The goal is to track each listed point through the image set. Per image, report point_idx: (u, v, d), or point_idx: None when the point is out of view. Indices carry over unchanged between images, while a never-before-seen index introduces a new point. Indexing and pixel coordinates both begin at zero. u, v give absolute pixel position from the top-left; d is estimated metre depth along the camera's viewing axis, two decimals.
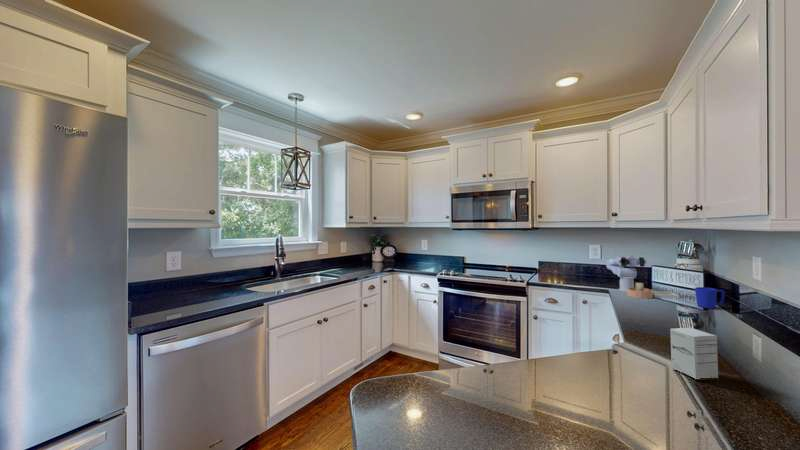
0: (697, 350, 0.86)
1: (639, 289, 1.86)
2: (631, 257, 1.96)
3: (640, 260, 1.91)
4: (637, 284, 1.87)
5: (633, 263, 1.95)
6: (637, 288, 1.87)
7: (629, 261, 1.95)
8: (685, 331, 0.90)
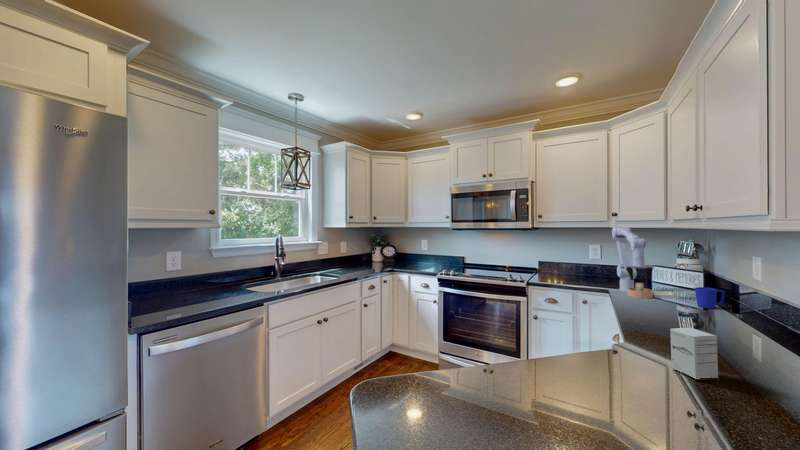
0: (697, 350, 0.86)
1: (639, 289, 1.86)
2: (640, 266, 1.85)
3: (646, 272, 1.86)
4: (637, 284, 1.87)
5: None
6: (637, 288, 1.87)
7: None
8: (685, 331, 0.90)
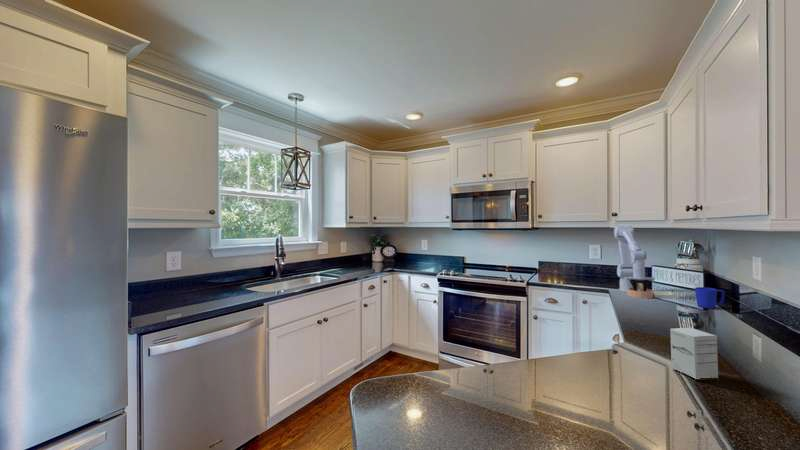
0: (697, 350, 0.86)
1: (639, 289, 1.86)
2: None
3: (644, 284, 1.86)
4: (637, 284, 1.87)
5: None
6: (637, 288, 1.87)
7: None
8: (685, 331, 0.90)
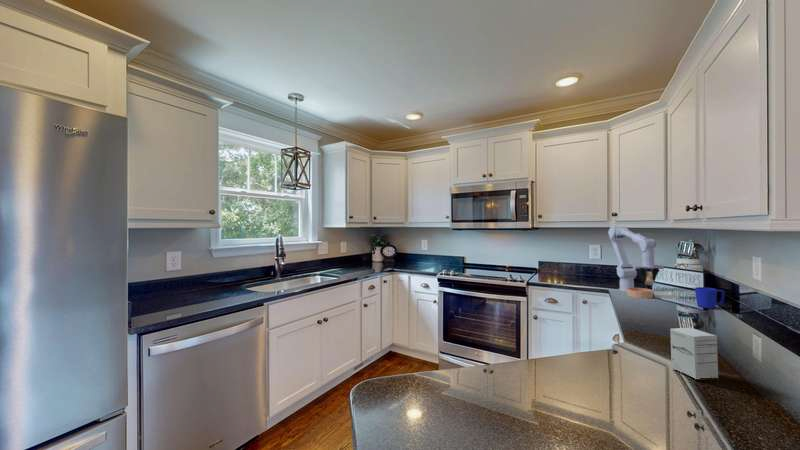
0: (697, 350, 0.86)
1: (648, 277, 1.86)
2: None
3: (653, 272, 1.86)
4: (646, 272, 1.87)
5: None
6: (646, 276, 1.87)
7: (645, 268, 1.88)
8: (685, 331, 0.90)
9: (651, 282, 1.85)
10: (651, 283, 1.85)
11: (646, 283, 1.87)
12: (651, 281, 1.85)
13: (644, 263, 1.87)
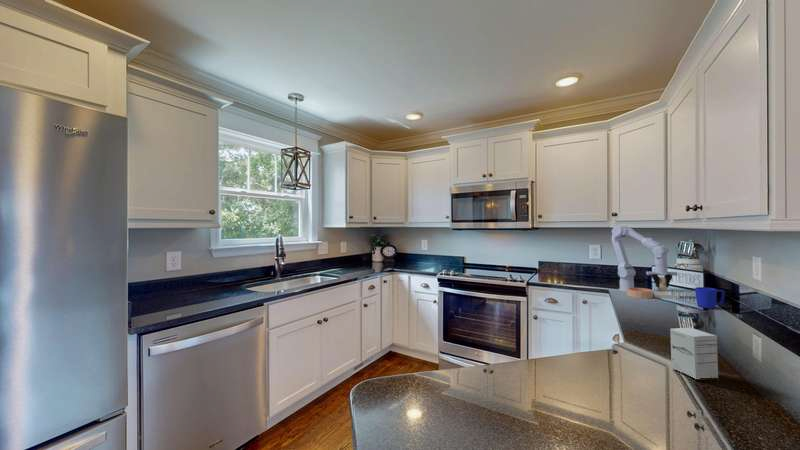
0: (697, 350, 0.86)
1: (661, 284, 1.85)
2: (663, 273, 1.84)
3: (666, 279, 1.85)
4: (659, 279, 1.86)
5: None
6: (659, 283, 1.86)
7: None
8: (685, 331, 0.90)
9: (664, 288, 1.85)
10: (664, 289, 1.85)
11: (659, 289, 1.86)
12: (664, 287, 1.85)
13: (657, 269, 1.87)
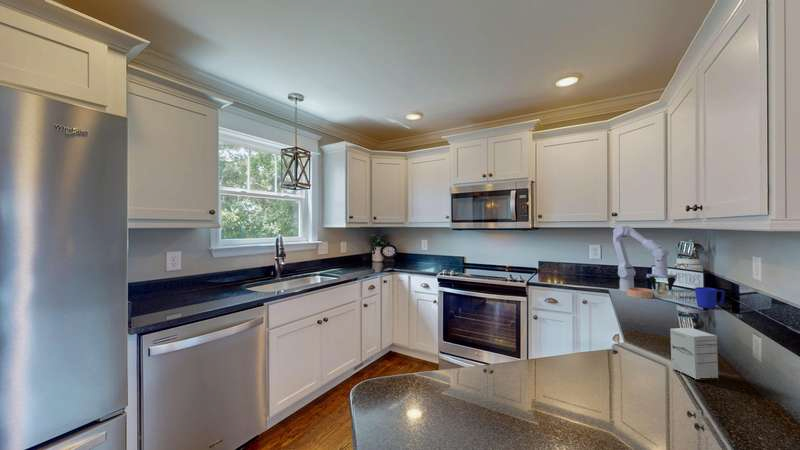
0: (697, 350, 0.86)
1: (661, 289, 1.85)
2: (663, 276, 1.84)
3: (670, 281, 1.85)
4: (659, 284, 1.86)
5: None
6: (659, 288, 1.86)
7: (658, 277, 1.87)
8: (685, 331, 0.90)
9: (664, 293, 1.85)
10: (664, 294, 1.85)
11: None
12: (664, 292, 1.85)
13: (657, 272, 1.87)
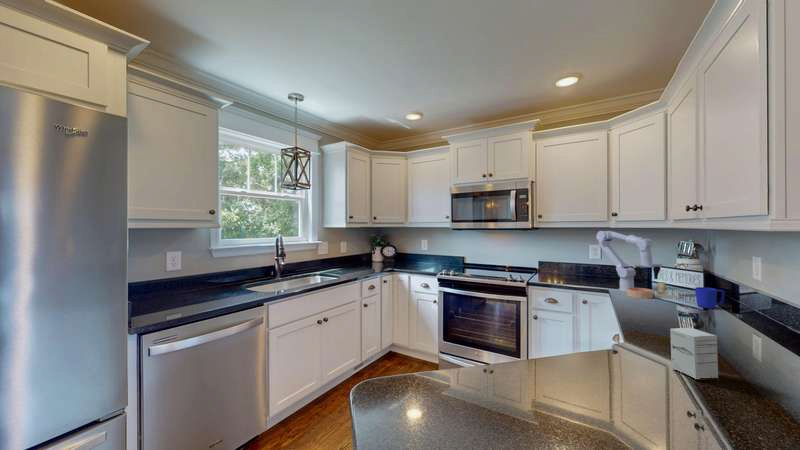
0: (697, 350, 0.86)
1: (661, 289, 1.85)
2: None
3: (655, 271, 1.92)
4: (659, 284, 1.86)
5: None
6: (659, 288, 1.86)
7: (644, 267, 1.94)
8: (685, 331, 0.90)
9: (664, 293, 1.85)
10: (664, 294, 1.85)
11: None
12: (664, 292, 1.85)
13: (642, 262, 1.94)
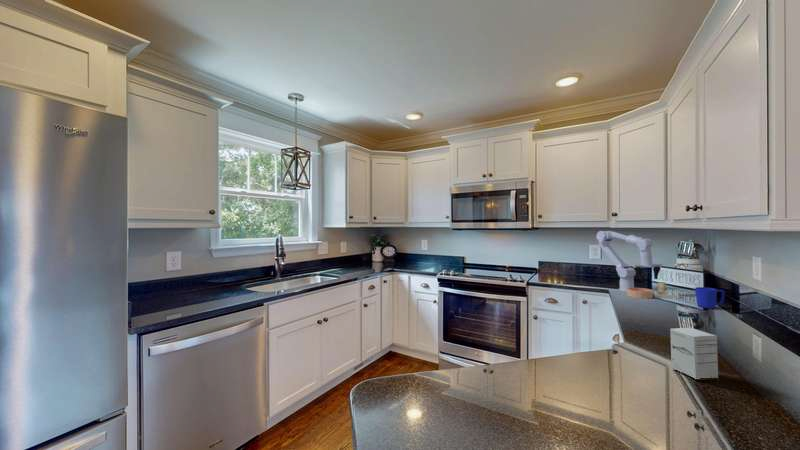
0: (697, 350, 0.86)
1: (661, 289, 1.85)
2: None
3: (655, 271, 1.92)
4: (659, 284, 1.86)
5: None
6: (659, 288, 1.86)
7: (644, 267, 1.94)
8: (685, 331, 0.90)
9: (664, 293, 1.85)
10: (664, 294, 1.85)
11: None
12: (664, 292, 1.85)
13: (642, 262, 1.94)
